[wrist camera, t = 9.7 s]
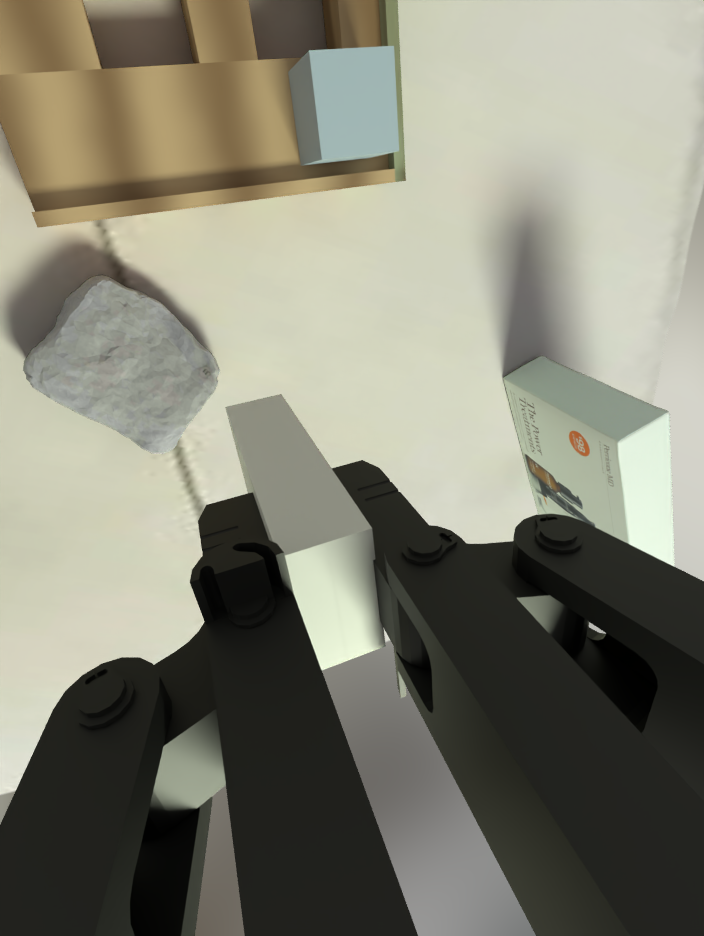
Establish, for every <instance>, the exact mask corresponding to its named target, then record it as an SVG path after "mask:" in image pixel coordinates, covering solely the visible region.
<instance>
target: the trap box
mask: <svg viewBox="0 0 704 936" xmlns="http://www.w3.org/2000/svg"><path fill="white" fill-rule="evenodd" d="M322 4H323V14H324V24H325V33H326V43H327V49H343V48H362V47H381V46H394V57H395V77H396V97H397V117H398V137H399V151H397V152H393V153H388V154H384V155H380V156H376V157H372V158H365V159H356V160H347V161H338V162H329V163H321V164H312V165H303V166H301V162H300V155H299V148H298V140H297V133H296V126H295V119H294V111H293V104H292V97H291V89H290V82H289V75H288V72H289V71H290V70H291V69H292V67H293V66H294V65H295V64H296V63H297V62H298V61H299V60H300V59H301V58H302V57H301V58H283V59H266V60H258V57H257V51H256V45H255V39H254V32H253V26H252V20H251V14H250V7H249V1H248V0H181V5H182V10H183V15H184V19H185V24H186V29H187V33H188V38H189V43H190V47H191V52H192V57H193V62H194V64H179V65H162V66H145V67H127V68H110V69H102V65H101V62H100V58H99V55H98V51H97V48H96V45H95V41H94V38H93V34H92V31H91V27H90V24H89V20H88V17H87V13H86V10H85V6H84V3H83V0H0V122H1V125H2V128H3V130H4V133H5V135H6V138H7V140H8V143H9V146H10V148H11V151H12V153H13V156H14V158H15V161H16V164H17V166H18V169H19V171H20V174H21V177H22V179H23V182H24V184H25V187H26V189H27V192H28V195H29V197H30V200H31V202H32V205H33V207H34V210H35V212H32V214H33V217H34V219H35V222H36V224H37V227H45V226H53V225H61V224H69V223H77V222H85V221H92V220H100V219H108V218H116V217H124V216H132V215H139V214H147V213H155V212H163V211H171V210H179V209H186V208H194V207H202V206H210V205H218V204H226V203H233V202H241V201H249V200H257V199H265V198H273V197H280V196H288V195H296V194H304V193H312V192H320V191H328V190H335V189H343V188H351V187H359V186H367V185H375V184H382V183H390V182H398V181H406V177H405V155H404V133H403V111H402V89H401V67H400V45H399V23H398V1H397V0H322Z"/></svg>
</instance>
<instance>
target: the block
mask: <svg viewBox="0 0 704 936" xmlns="http://www.w3.org/2000/svg"><path fill="white" fill-rule="evenodd" d="M288 75H289V82H290V89H291V97H292V104H293V111H294V119H295V126H296V133H297V140H298V148H299V155H300V162H301V166H303V165H312V164H321V163H329V162H338V161H347V160H356V159H365V158H372V157H376V156H380V155H384V154H388V153H393V152H397V151H399V137H398V117H397V97H396V77H395V57H394V46H381V47H362V48H343V49H325V50H309V51H308V52H307V53H306V54H305V55H304V56H303V57H302V58H301V59H300V60H299V61H298V62H297V63H296V64H295V65H294V66H293V67H292V69H291V70H290V71H289V72H288Z"/></svg>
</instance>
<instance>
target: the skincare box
mask: <svg viewBox="0 0 704 936" xmlns="http://www.w3.org/2000/svg"><path fill="white" fill-rule="evenodd" d="M503 379H504V383H505V387H506V391H507V395H508V399H509V403H510V407H511V411H512V414H513V418H514V422H515V426H516V430H517V434H518V438H519V441H520V445H521V449H522V453H523V457H524V461H525V465H526V469H527V472H528V476H529V480H530V484H531V488H532V492H533V495H534V499H535V503H536V507H537V511H538V514H539V515H541V514H559V515H566V516H570V517H573V518H576V519H578V520H581V521H584V522H586V523H588V524H590V525H592V526H594V527H596V528H598V529H600V530H602V531H604V532H606V533H608V534H610V535H612V536H614V537H616V538H618V539H620V540H622V541H624V542H626V543H628V544H630V545H632V546H634V547H636V548H638V549H640V550H642V551H644V552H646V553H648V554H650V555H652V556H654V557H656V558H658V559H660V560H662V561H664V562H666V563H668V564H670V565H672V566H674V537H673V507H672V505H673V504H672V477H671V448H670V415H669V412H668V411H667V410H664V409H662V408H658V407H656V406H653V405H651V404H649V403H647V402H644V401H642V400H640V399H637V398H635V397H633V396H631V395H628V394H626V393H624V392H622V391H619V390H617V389H615V388H613V387H611V386H609V385H607V384H605V383H602V382H600V381H598V380H596V379H593V378H591V377H589V376H587V375H584V374H581V373H579V372H576V371H574V370H572V369H570V368H567V367H565V366H563V365H561V364H559V363H556V362H554V361H552V360H550V359H548V358H546V357H544V356H540V357H538V358H536V359H534V360H533V361H531V362H529V363H527V364H525V365H523V366H522V367H520V368H518V369H517V370H515V371H513V372H512V373H510V374H508V375H507V376H505V377H504V378H503Z"/></svg>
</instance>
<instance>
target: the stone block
mask: <svg viewBox="0 0 704 936" xmlns="http://www.w3.org/2000/svg"><path fill="white" fill-rule="evenodd" d="M23 371H24V372H25V374H26V379H27V380H28V381H29V382H30V384H31V385H32V387H33V388H35V389H37V390H38V391H40V392H41V393H43V394H44V395H46V396H47V397H49V398H50V399H52V400H54V401H55V402H57V403H59V404H61V405H63V406H65V407H67V408H69V409H71V410H73V411H74V412H76V413H78V414H81V415H83V416H85V417H87V418H89V419H91V420H94V421H96V422H99V423H101V424H104V425H106V426H108V427H110V428H112V429H114V430H116V431H117V432H119V433H120V434H122V435H123V436H125V437H127V438H129V439H131V440H132V441H133V442H135V443H136V444H137V445H138V446H140V447H141V448H142V449H144V450H146V451H148V452H150V453H152V454H164V453H166V452H169V451H171V450H172V449H174V448H175V446H176V445H177V442H178V440H179V439H180V438H181V436H182V434H183V432H184V430H185V429H186V427H187V426H188V425H189V424H190V422H191V421H192V420H193V419H194V417H195V416H196V415H197V413H198V412H199V411H200V410H201V409H202V407H203V406H204V404H205V403H206V401H207V400H208V399H209V398H210V397H211V396H212V394H213V393H214V391H215V389H216V387H217V384H218V381H217V376H218V375H219V372H220V370H219V367H218V365H217V362H216V360H215V358H214V357H213V355H212V354H211V353H210V352H209V351H208V350H207V349H206V348H205V347H203V346H202V345H201V344H200V343H199V342H198V341H197V340H196V339H195V338H194V337H193V335H192V334H191V332H190V331H189V330H188V329H187V328H186V327H184V326H183V325H182V324H181V323H180V321H179V320H178V319H177V318H176V317H175V316H174V315H173V314H172V313H171V312H170V311H169V310H168V309H167V308H166V307H165V306H164V305H163V304H161V303H160V302H159V301H157V300H155V299H153V298H150V297H149V296H148V295H146V294H144V293H142V292H140V291H137V290H134V289H131V288H127V287H125V286H124V285H122V284H120V283H118V282H116V281H115V280H113V279H112V278H110V277H108V276H105V275H99V276H94V277H91V278H89V279H88V280H87V281H85V282H84V283H83V284H82V285H81V286H80V287H79V288H78V289H77V290H76V291H74V292H72V293H71V294H70V296H69V297H68V298H66V299H65V302H64V305H63V307H62V310H61V312H60V314H59V315H58V316H57V321H56V325H55V327H54V328H53V329H52V330H51V331H50V332H49V333H48V334H47V336H46V337H45V339H44V340H43V341H41V342H40V343H39V344H38V345H37V347H35V348H33V349H32V350H31V352H30V353H29V355H28V356H27V358H26V359H25V361H24V367H23Z"/></svg>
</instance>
